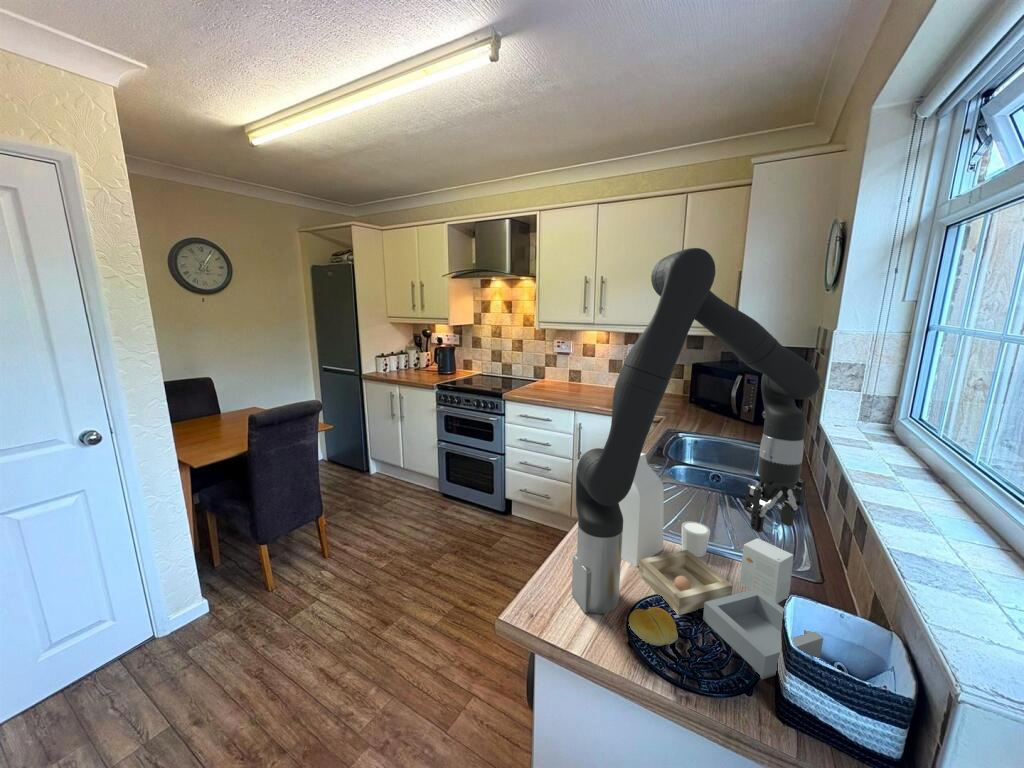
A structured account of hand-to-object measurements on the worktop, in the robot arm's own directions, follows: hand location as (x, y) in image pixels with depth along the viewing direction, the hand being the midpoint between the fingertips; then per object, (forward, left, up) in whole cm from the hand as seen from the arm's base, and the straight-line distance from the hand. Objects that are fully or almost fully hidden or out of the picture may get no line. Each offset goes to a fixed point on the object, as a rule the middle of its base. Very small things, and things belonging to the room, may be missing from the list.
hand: (771, 527), depth 87 cm
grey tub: (-13, -10, -16) cm, 23 cm away
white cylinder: (-4, +17, -16) cm, 24 cm away
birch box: (-17, +6, -16) cm, 24 cm away
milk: (-19, +23, -16) cm, 34 cm away
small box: (0, 0, -16) cm, 16 cm away
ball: (-18, +5, -15) cm, 24 cm away
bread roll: (-31, -2, -16) cm, 35 cm away
